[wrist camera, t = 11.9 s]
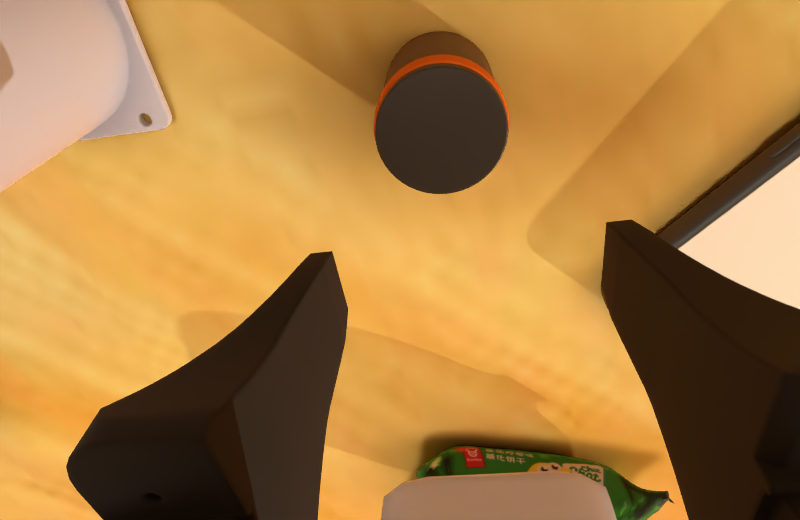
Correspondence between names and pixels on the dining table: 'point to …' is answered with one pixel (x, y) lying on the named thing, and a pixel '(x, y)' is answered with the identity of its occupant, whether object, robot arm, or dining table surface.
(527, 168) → the dining table surface
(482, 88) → the dark brown cylinder
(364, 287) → the dining table surface
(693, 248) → the phone case
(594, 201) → the dining table surface
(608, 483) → the snack package
